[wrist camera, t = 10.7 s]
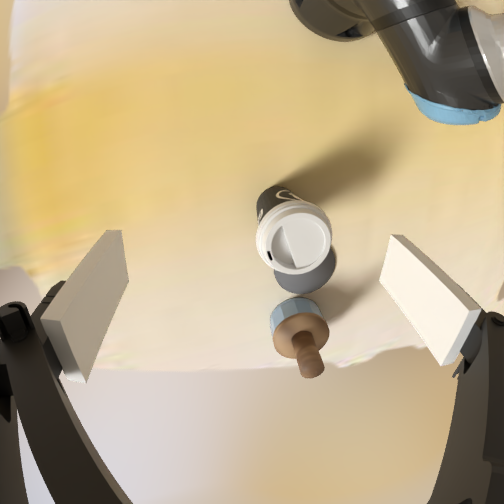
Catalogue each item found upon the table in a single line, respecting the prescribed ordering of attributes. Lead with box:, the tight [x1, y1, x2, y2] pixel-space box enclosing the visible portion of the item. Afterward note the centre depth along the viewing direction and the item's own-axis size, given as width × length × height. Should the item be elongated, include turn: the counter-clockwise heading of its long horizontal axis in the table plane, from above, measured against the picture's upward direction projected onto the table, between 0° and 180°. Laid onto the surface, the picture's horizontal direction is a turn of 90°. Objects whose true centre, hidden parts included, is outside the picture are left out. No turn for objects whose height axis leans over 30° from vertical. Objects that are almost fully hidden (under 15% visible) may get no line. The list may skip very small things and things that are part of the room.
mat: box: [274, 248, 335, 294], centre depth 54 cm, size 11×11×1 cm
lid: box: [273, 312, 329, 378], centre depth 51 cm, size 10×10×9 cm
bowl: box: [270, 297, 324, 337], centre depth 57 cm, size 10×10×5 cm
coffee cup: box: [256, 187, 332, 274], centre depth 42 cm, size 10×10×15 cm
